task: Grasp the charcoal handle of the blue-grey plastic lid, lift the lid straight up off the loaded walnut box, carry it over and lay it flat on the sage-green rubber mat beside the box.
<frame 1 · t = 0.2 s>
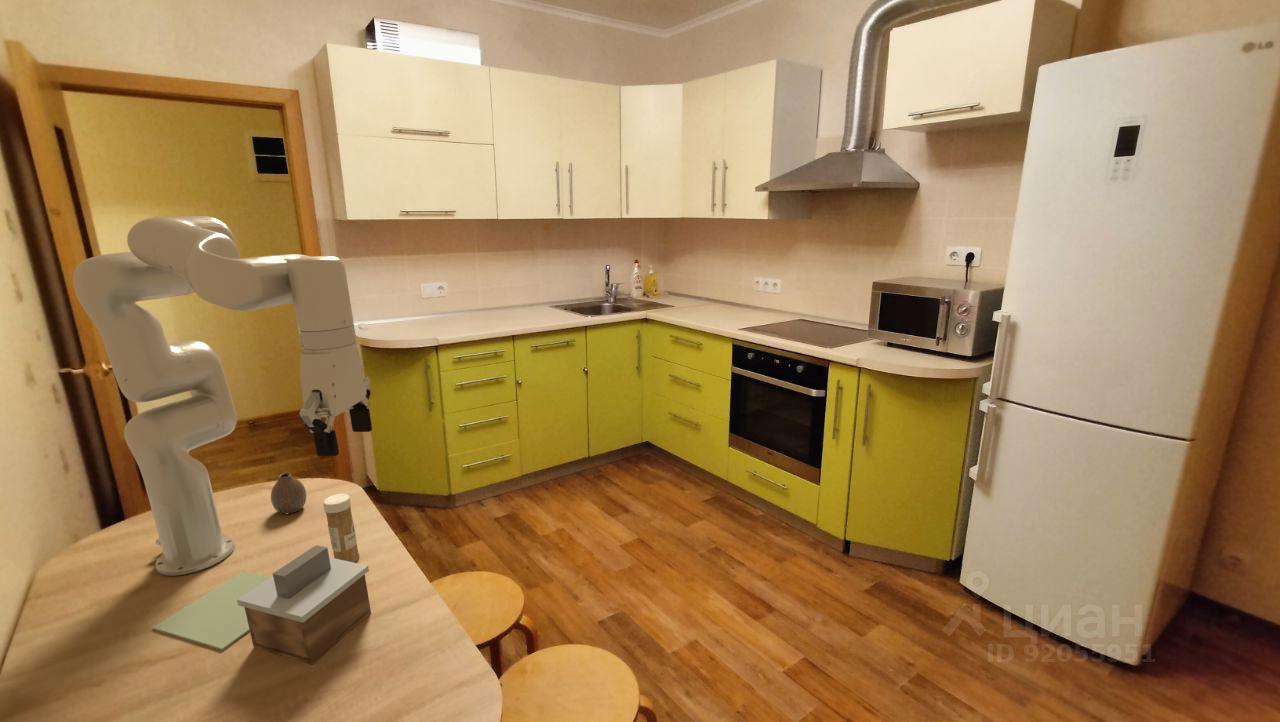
hand: (346, 442, 93), 30 cm above the table, tool pointing down, fingers open, 9 cm apart
mat: (234, 607, 101), on the table
lid: (306, 587, 93), point 8 cm above the table, touching box
vase: (291, 510, 134), on the table
sprinkles bottle: (347, 561, 114), on the table
box: (314, 629, 95), on the table
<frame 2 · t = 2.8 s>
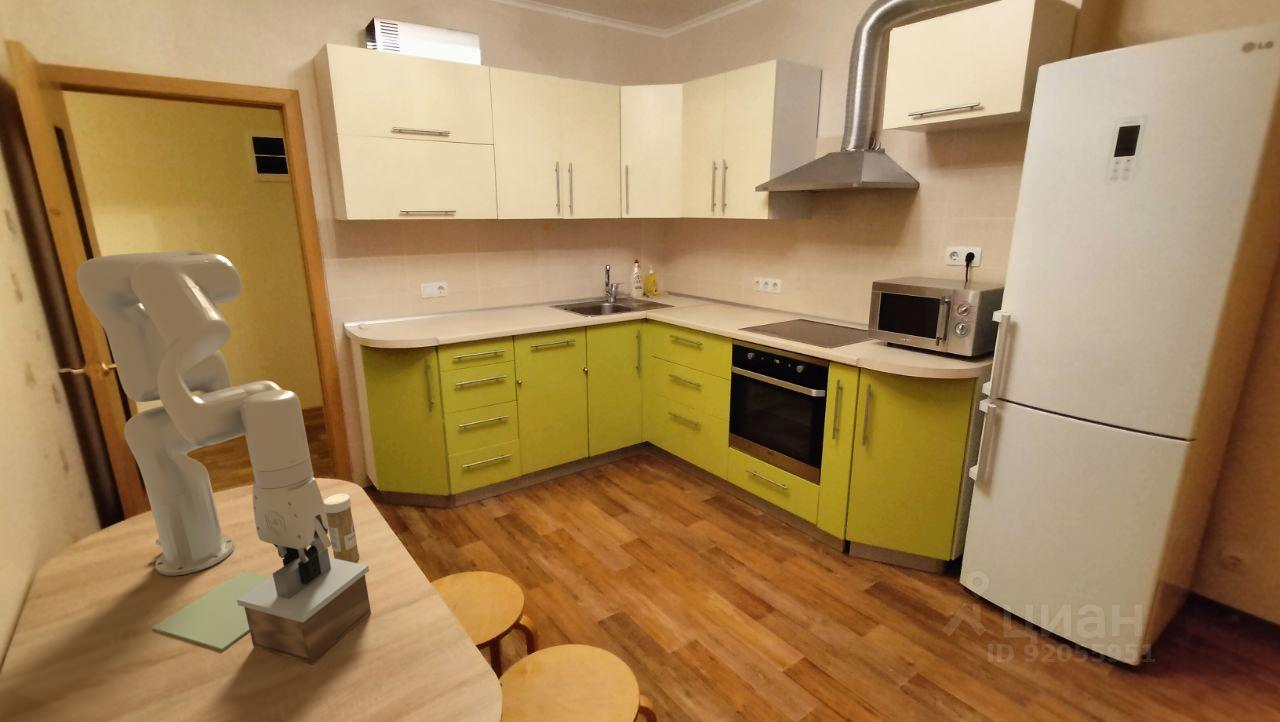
hand: (304, 576, 93), 10 cm above the table, tool pointing down, fingers closed on lid
lid: (306, 587, 93), point 8 cm above the table, touching box, gripper
everything else where it was.
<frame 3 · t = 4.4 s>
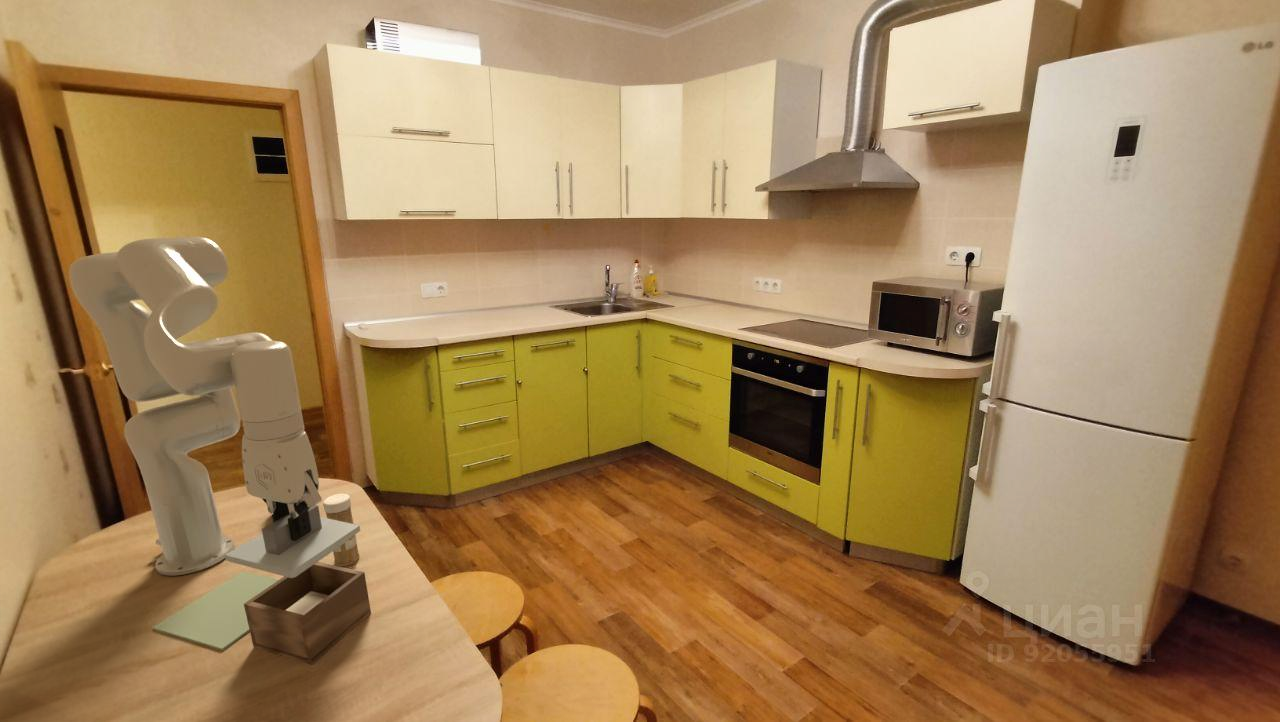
hand: (293, 533, 91), 18 cm above the table, tool pointing down, fingers closed on lid, 2 cm apart
lid: (296, 545, 91), point 15 cm above the table, touching gripper
everything else where it was.
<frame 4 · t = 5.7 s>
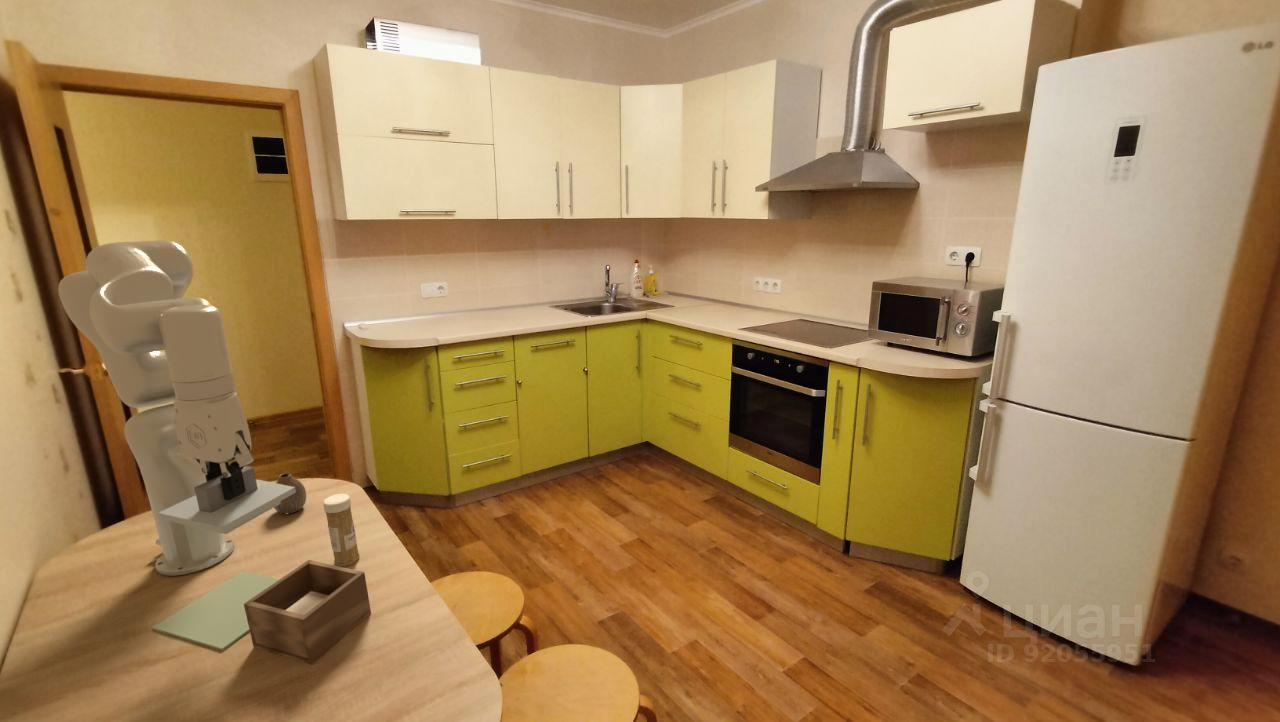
hand: (228, 493, 94), 22 cm above the table, tool pointing down, fingers closed on lid
lid: (230, 504, 94), point 20 cm above the table, touching gripper
everything else where it was.
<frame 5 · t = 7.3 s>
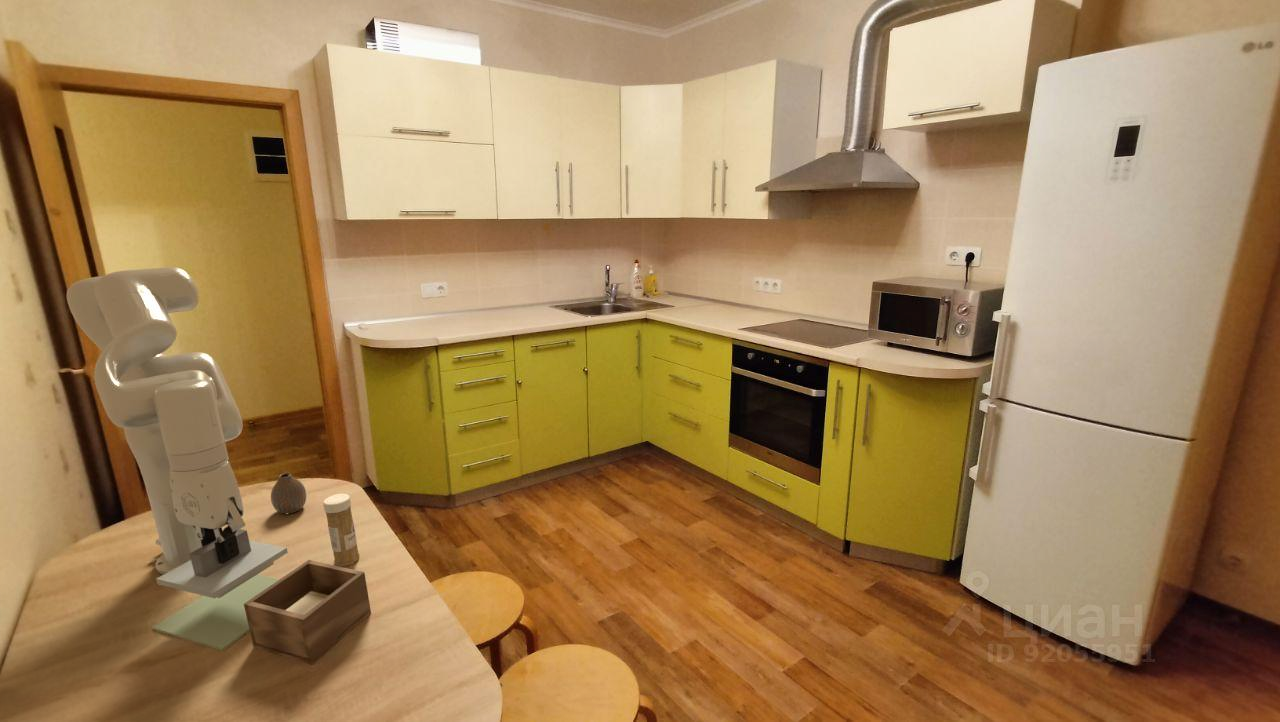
hand: (222, 556, 98), 10 cm above the table, tool pointing down, fingers closed on lid
lid: (225, 567, 98), point 8 cm above the table, touching gripper
everything else where it was.
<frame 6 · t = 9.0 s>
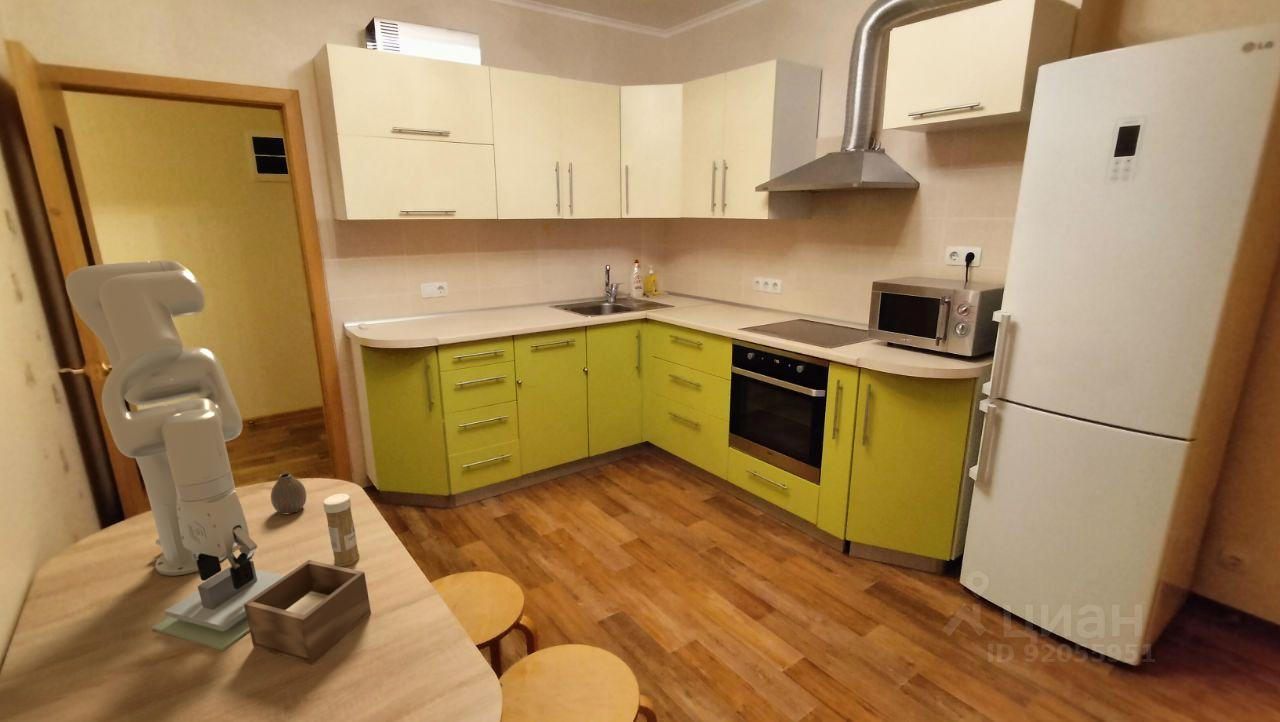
hand: (227, 579, 99), 6 cm above the table, tool pointing down, fingers open, 7 cm apart
lid: (232, 598, 100), point 2 cm above the table, touching mat
everything else where it was.
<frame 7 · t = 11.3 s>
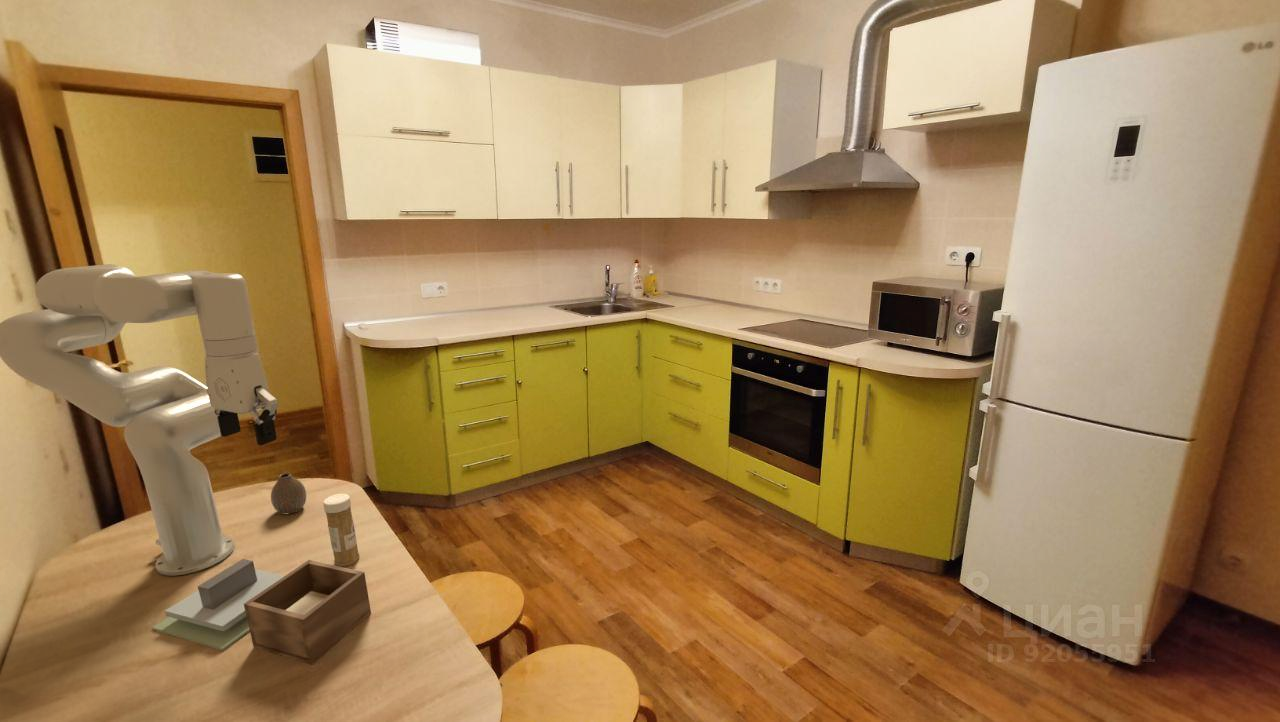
hand: (249, 438, 105), 27 cm above the table, tool pointing down, fingers open, 9 cm apart
nothing on the table moved.
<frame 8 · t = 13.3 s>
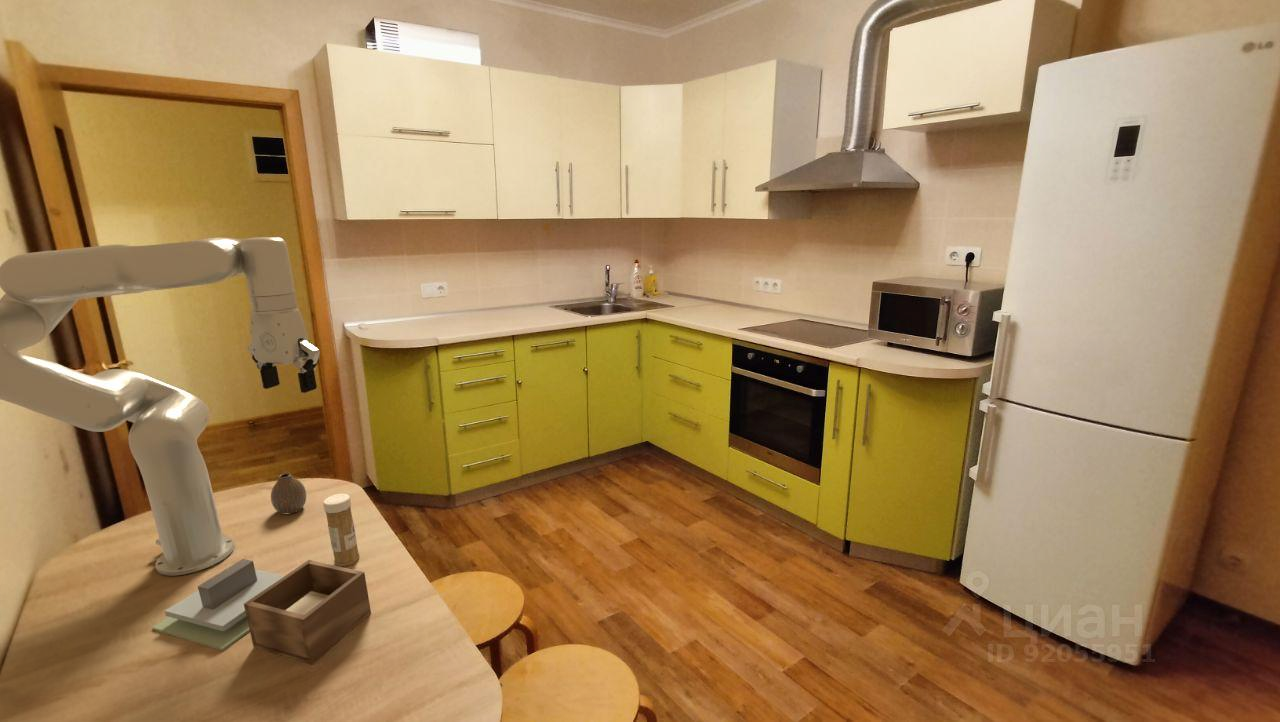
hand: (290, 388, 115), 32 cm above the table, tool pointing down, fingers open, 9 cm apart
nothing on the table moved.
at the end: lid inside the target area on the mat (0.0 cm from its centre), point 1.9 cm above the mat's base; lid tilted 0°; the gripper is holding nothing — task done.
